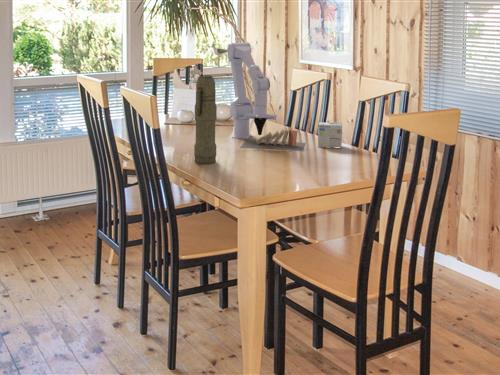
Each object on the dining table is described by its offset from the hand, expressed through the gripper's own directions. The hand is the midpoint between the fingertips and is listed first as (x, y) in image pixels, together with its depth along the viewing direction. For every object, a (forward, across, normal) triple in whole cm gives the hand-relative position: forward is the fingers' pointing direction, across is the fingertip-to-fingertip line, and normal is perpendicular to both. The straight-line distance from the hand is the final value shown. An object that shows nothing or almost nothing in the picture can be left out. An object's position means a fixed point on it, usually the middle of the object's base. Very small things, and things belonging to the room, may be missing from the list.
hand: (259, 134), depth 352 cm
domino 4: (+4, +11, 0) cm, 11 cm away
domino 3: (+4, +7, 0) cm, 8 cm away
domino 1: (+3, -1, 0) cm, 4 cm away
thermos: (+5, -17, -39) cm, 43 cm away
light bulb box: (+5, +32, +2) cm, 32 cm away
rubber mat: (+4, +7, -2) cm, 8 cm away
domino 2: (+3, +3, 0) cm, 5 cm away
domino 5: (+4, +15, 0) cm, 15 cm away
